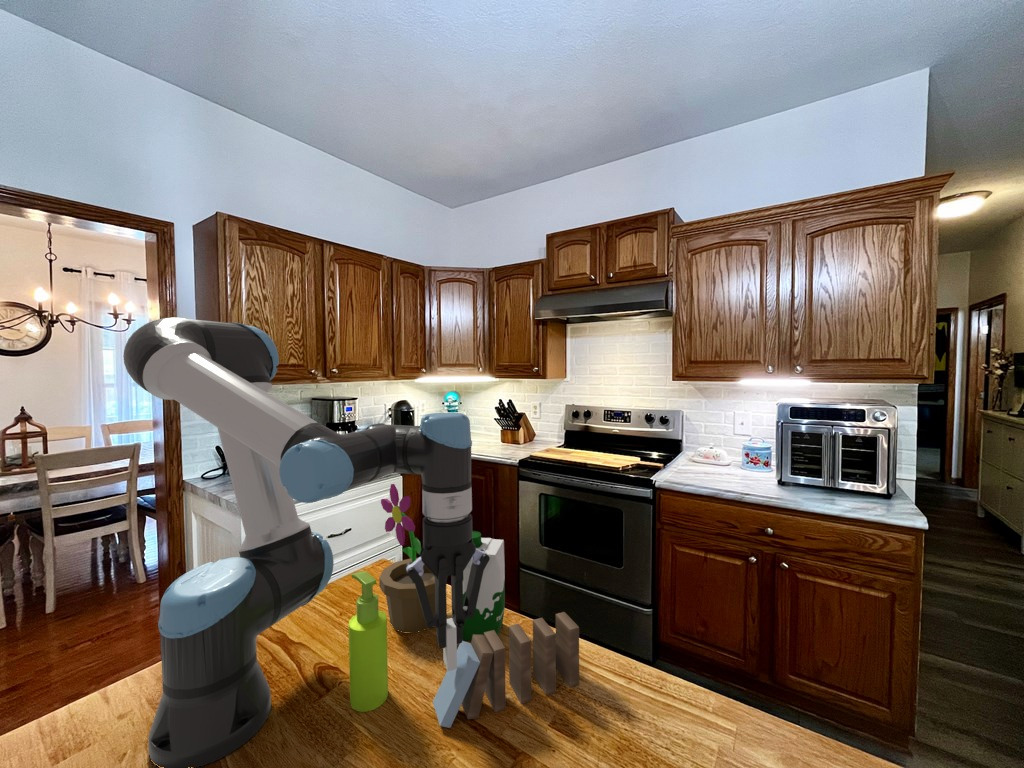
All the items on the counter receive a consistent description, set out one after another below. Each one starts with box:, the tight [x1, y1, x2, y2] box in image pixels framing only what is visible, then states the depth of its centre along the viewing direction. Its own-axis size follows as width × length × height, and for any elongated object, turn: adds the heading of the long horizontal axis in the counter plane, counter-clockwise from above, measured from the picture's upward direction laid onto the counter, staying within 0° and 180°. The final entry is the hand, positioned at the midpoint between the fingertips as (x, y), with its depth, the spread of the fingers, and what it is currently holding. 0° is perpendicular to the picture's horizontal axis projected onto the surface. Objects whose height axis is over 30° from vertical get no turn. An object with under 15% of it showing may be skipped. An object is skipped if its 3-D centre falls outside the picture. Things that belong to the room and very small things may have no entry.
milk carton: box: [462, 530, 506, 642], centre depth 88 cm, size 9×9×20 cm
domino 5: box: [532, 617, 557, 696], centre depth 73 cm, size 2×5×10 cm, turn 23°
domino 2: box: [461, 635, 493, 720], centre depth 68 cm, size 2×5×10 cm, turn 23°
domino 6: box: [555, 611, 580, 688], centre depth 75 cm, size 2×5×10 cm, turn 23°
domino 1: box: [432, 640, 480, 729], centre depth 67 cm, size 2×5×10 cm, turn 23°
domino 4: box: [508, 623, 532, 705], centre depth 71 cm, size 2×5×10 cm, turn 23°
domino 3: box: [484, 630, 507, 713], centre depth 70 cm, size 2×5×10 cm, turn 23°
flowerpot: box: [378, 483, 435, 633], centre depth 92 cm, size 14×14×30 cm
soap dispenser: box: [348, 570, 389, 712], centre depth 70 cm, size 6×7×20 cm
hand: (450, 664), depth 66 cm, fingers closed
